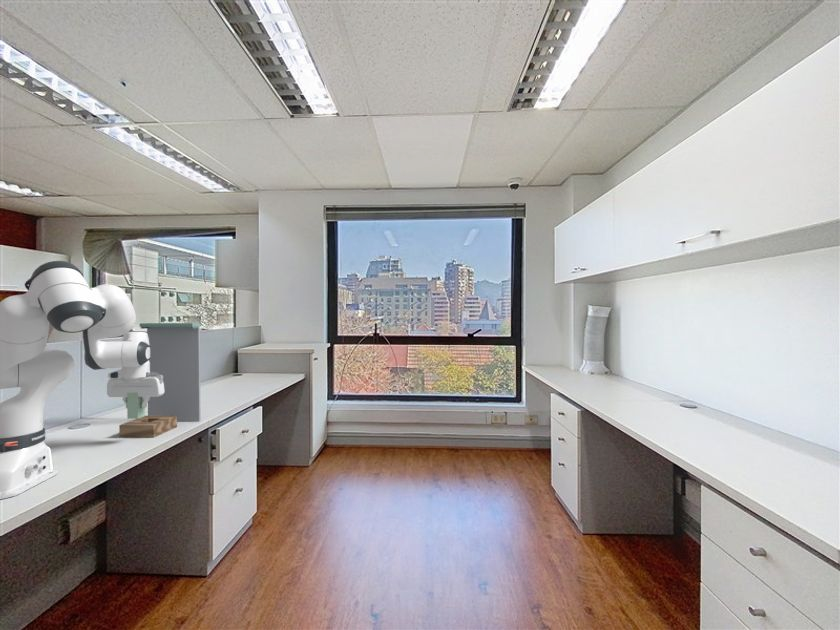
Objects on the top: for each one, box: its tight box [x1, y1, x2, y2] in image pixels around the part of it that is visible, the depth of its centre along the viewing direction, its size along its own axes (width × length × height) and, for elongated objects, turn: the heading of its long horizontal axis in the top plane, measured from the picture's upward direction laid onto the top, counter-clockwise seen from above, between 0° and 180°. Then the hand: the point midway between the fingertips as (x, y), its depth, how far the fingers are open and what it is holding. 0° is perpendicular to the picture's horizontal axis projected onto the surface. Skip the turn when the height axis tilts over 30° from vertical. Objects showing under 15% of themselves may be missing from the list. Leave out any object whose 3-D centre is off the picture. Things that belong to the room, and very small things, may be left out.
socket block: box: [118, 415, 178, 439], centre depth 158 cm, size 14×14×5 cm
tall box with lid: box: [139, 322, 202, 423], centre depth 171 cm, size 6×24×46 cm, turn 89°
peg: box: [126, 393, 146, 420], centre depth 146 cm, size 4×4×10 cm
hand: (136, 408), depth 146 cm, fingers closed on peg, 4 cm apart
